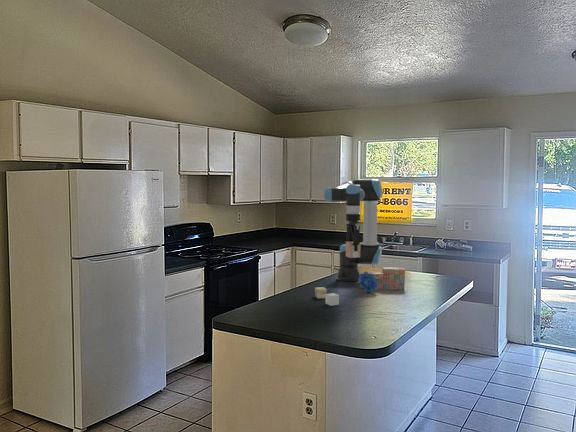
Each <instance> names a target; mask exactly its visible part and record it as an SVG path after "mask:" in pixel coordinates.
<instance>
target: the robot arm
mask: <svg viewBox="0 0 576 432" xmlns="http://www.w3.org/2000/svg"><path fill="white" fill-rule="evenodd" d="M323 197H324V201H326V202H331V203H332V202H345V206H346V207H345V210H346V212H345V213H346V214H345V220H346V222H348V223H347V224H346V239H345V240H346V241H345V242H348V241H353V244H352V245H353V255H352V257H357V258H349V257H346V243H344V244H341V245H340V246H339V269H338V271H337V273H336V280H337V281H341V282H357V281H358V279H359V278H360V274H361V273H360V271H359V268H358V265H371V266H372V265H373V266H374V265H379V263H380V262H381V258H382V252H383V247H382V246H380V243H379V241H378V203H379V202H380V201H381V200H380V199H382V198H383V187H382V182H381V180H380V179H376V178H365V179H363V178H362V179H361V178H354V179H349V180H346V181H343V182H342V183H341V184H340V185H338V186H335V187H326V188H325V189H324V192H323ZM361 203H363V205H362V206H363V208H362V209H363V210H362V211H363V214H362V215H363V222H362V224H363V225H362V226H363V232H362V233H363V237H362V242H361V241H360V240H361V237H360V235H361V233H360V230H361V226H360V225H358V222H360V221H361V214H360V213H361ZM358 244H360V257H358Z"/></svg>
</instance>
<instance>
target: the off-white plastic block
mask: <svg viewBox="0 0 576 432" xmlns="http://www.w3.org/2000/svg"><path fill="white" fill-rule="evenodd" d="M339 304H340V295H339V294H338V293H333V292H332V293H327V294H326V298H325V305H328V306H337V305H339Z"/></svg>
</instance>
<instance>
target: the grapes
mask: <svg viewBox="0 0 576 432" xmlns="http://www.w3.org/2000/svg"><path fill="white" fill-rule="evenodd" d="M368 272H369V271H364V272H363V273H359V274H360V278H359V279H358V283H359V286H360V288H361V289H362V290H364V292H366V293H375V292H376V290H378V289H377V288H378V285H377V284H376V283H377V279H376V278H374V275H373V274H371V273H370V274H369V273H368Z"/></svg>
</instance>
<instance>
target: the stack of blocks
mask: <svg viewBox="0 0 576 432" xmlns="http://www.w3.org/2000/svg"><path fill="white" fill-rule="evenodd" d="M381 270H382V272H378V271H375V272H374V271H373V272H372V271H367V272H368V273H369V274H370V273H371V274H373V275H374V278H376V279H377V283H376V284H377V285H378V288H377V289H376V290H385V289H386V290H388V291H389V289H391V290H393V291H394V290H395V291H396V290H397V291H405V284H406V282H405V281H406V280H405V279H406V275H405V273H406V272H405V271H406V270H405V268H404V267H397V266H395V267H394V266H393V267H389V266H387V267H385V266H384V267H381Z"/></svg>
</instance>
